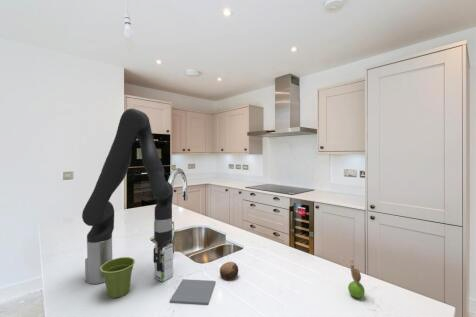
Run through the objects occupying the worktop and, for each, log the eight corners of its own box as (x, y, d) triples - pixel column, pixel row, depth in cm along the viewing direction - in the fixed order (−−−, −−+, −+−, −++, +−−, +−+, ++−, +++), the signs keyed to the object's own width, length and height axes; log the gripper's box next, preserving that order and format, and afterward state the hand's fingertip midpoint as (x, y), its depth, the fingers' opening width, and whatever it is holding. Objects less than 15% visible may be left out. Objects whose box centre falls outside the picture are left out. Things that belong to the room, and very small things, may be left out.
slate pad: (169, 302, 82) (169, 300, 82) (182, 281, 96) (182, 279, 96) (208, 305, 81) (208, 302, 81) (215, 282, 95) (215, 280, 95)
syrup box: (153, 278, 98) (153, 245, 98) (165, 272, 103) (164, 240, 103) (162, 282, 95) (162, 248, 95) (173, 276, 100) (173, 243, 100)
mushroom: (230, 262, 106) (228, 255, 102) (242, 273, 102) (241, 266, 98) (217, 275, 102) (215, 268, 98) (229, 288, 97) (228, 281, 94)
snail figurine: (357, 290, 89) (358, 259, 89) (367, 301, 83) (368, 268, 83) (344, 290, 89) (344, 260, 89) (353, 301, 83) (353, 268, 83)
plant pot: (110, 284, 94) (109, 257, 94) (139, 283, 95) (139, 256, 95) (94, 303, 82) (93, 272, 82) (128, 302, 83) (127, 271, 83)
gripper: (161, 223, 106) (162, 258, 107) (146, 234, 92) (147, 274, 92) (177, 223, 106) (178, 258, 106) (164, 234, 91) (165, 275, 92)
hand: (163, 265), depth 99 cm, fingers closed on syrup box, 7 cm apart
